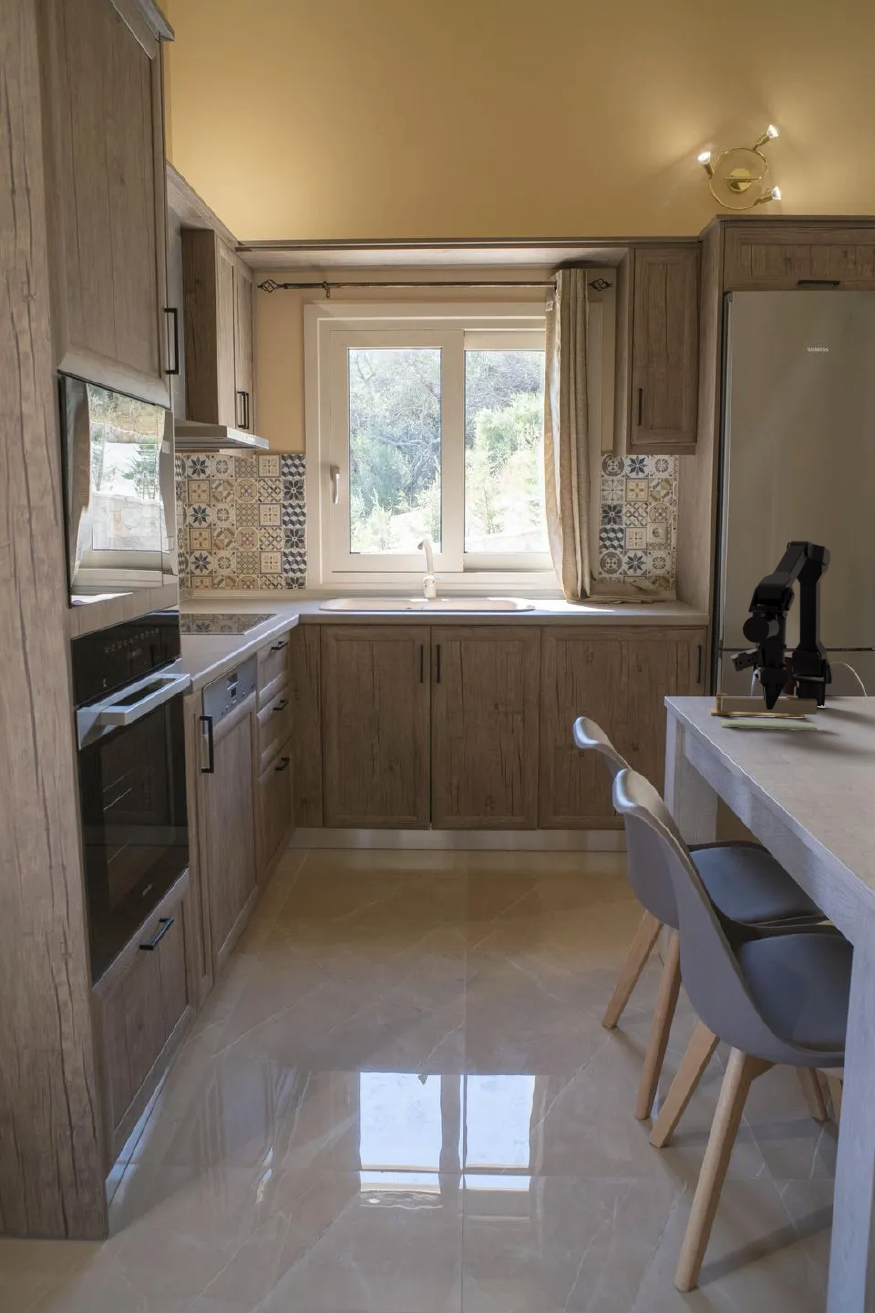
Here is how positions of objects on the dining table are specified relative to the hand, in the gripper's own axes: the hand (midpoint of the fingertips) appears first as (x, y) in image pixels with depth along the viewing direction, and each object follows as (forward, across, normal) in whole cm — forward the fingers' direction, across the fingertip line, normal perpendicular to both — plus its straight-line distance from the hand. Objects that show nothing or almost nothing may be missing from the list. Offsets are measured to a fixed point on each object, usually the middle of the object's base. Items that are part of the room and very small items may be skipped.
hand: (768, 708), depth 223 cm
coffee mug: (+4, -49, +13) cm, 51 cm away
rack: (+4, -13, -1) cm, 14 cm away
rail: (+1, 0, 0) cm, 1 cm away
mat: (+4, 0, 0) cm, 4 cm away
